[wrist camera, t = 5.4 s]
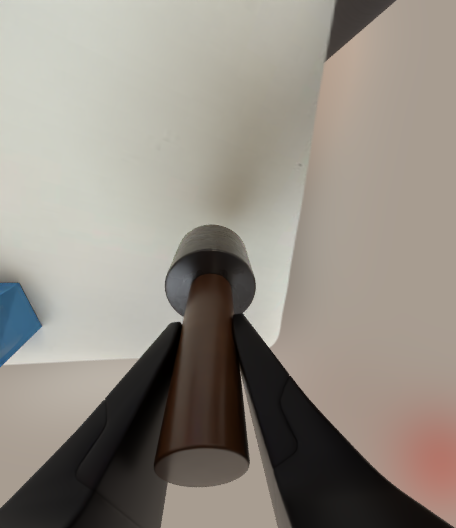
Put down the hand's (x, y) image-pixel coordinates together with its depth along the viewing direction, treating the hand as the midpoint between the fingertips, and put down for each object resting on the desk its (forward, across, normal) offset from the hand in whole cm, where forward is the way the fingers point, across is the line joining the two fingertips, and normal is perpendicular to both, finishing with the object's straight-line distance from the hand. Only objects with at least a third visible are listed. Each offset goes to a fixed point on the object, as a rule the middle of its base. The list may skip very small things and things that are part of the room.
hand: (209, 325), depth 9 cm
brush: (+6, 0, 0) cm, 6 cm away
